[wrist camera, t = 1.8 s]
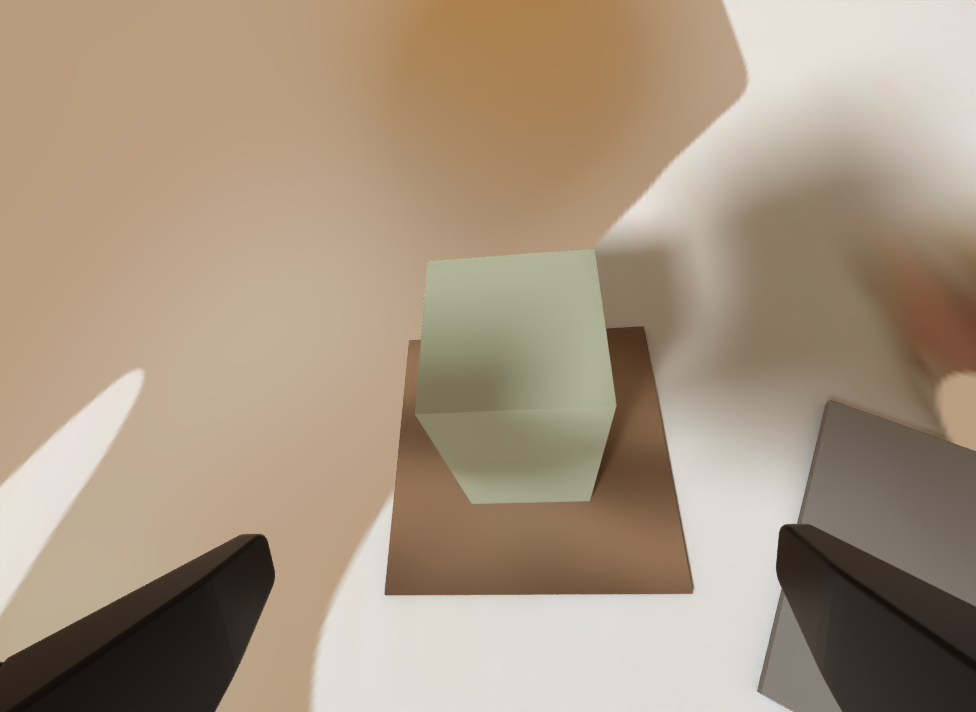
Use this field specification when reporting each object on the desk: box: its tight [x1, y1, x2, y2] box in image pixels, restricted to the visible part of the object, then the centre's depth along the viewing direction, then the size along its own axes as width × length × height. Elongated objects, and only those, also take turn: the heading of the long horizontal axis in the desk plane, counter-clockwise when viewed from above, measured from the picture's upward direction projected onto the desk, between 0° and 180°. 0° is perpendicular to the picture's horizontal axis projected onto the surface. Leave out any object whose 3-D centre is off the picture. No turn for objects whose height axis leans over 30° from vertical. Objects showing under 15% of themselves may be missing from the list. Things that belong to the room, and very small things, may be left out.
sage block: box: [415, 249, 617, 504], centre depth 18 cm, size 5×5×10 cm
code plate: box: [385, 327, 693, 595], centre depth 22 cm, size 12×12×1 cm
